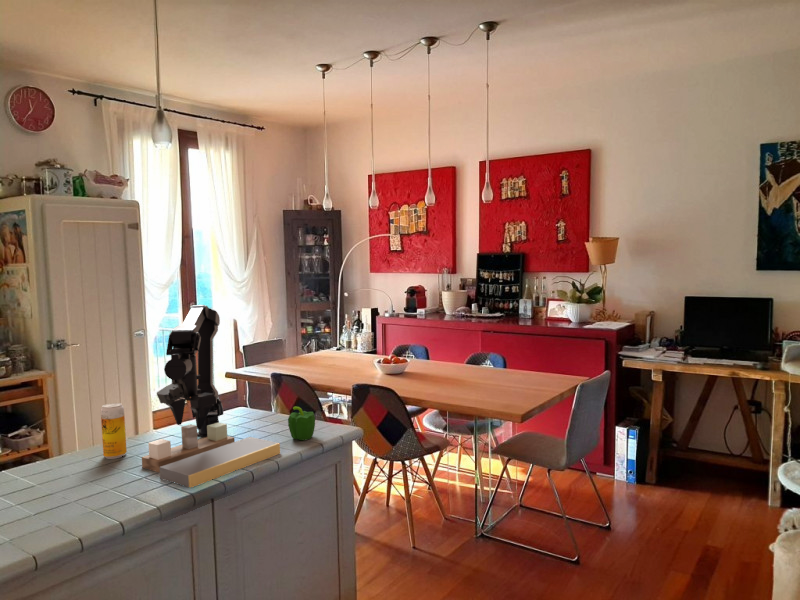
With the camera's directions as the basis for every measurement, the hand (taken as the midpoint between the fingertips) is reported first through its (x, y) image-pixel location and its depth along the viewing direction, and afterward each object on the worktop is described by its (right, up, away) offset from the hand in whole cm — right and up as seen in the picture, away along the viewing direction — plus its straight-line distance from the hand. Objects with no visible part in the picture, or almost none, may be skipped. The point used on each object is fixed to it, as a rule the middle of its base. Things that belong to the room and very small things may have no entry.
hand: (189, 426), depth 171 cm
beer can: (-22, -9, +3) cm, 24 cm away
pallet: (0, -9, 0) cm, 9 cm away
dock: (+12, -9, -8) cm, 17 cm away
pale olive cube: (+6, -5, +8) cm, 11 cm away
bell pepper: (+30, -7, +15) cm, 34 cm away
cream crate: (-5, -7, -7) cm, 11 cm away
